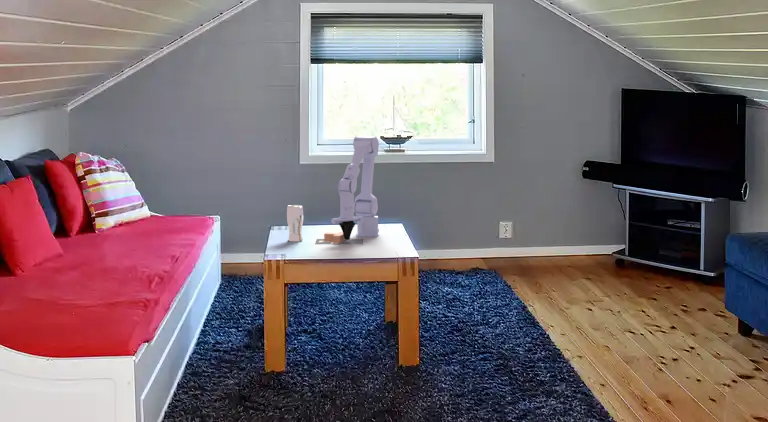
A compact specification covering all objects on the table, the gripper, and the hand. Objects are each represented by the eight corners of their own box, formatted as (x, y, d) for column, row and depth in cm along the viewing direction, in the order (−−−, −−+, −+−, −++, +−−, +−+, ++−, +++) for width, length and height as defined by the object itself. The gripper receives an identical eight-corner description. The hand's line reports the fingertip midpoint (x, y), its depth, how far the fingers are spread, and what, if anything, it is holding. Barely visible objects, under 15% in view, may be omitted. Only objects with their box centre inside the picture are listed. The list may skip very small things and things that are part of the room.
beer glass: (290, 242, 314) (290, 207, 312) (284, 239, 320) (284, 205, 318) (305, 241, 317) (305, 206, 315) (300, 238, 324) (299, 204, 321)
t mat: (363, 239, 322) (363, 239, 322) (363, 245, 310) (363, 244, 310) (316, 239, 321) (316, 238, 321) (314, 245, 309) (314, 244, 309)
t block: (346, 239, 321) (346, 232, 320) (339, 243, 312) (339, 236, 312) (329, 238, 323) (329, 231, 322) (321, 241, 314) (321, 234, 314)
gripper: (355, 204, 321) (355, 236, 323) (327, 207, 312) (327, 239, 314) (365, 206, 315) (365, 238, 317) (336, 209, 307) (336, 242, 309)
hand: (347, 239), depth 315 cm, fingers closed
